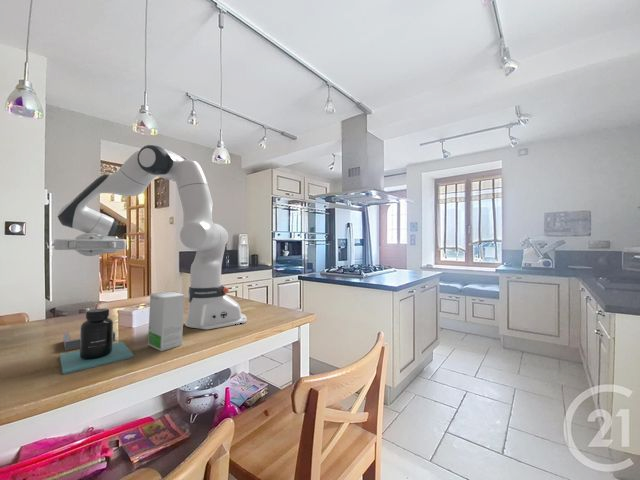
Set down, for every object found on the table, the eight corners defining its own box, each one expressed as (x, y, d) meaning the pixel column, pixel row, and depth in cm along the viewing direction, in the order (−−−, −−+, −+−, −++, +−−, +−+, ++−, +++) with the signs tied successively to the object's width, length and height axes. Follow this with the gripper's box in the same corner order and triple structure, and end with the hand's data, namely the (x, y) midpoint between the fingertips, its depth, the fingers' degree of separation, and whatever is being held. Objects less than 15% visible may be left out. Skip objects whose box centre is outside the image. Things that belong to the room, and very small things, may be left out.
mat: (59, 356, 74) (59, 354, 74) (122, 343, 84) (122, 341, 84) (62, 374, 64) (62, 371, 64) (133, 357, 74) (133, 354, 74)
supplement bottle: (94, 361, 70) (95, 314, 70) (72, 359, 71) (73, 312, 71) (118, 350, 76) (119, 307, 77) (98, 349, 78) (99, 306, 78)
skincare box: (147, 345, 82) (148, 293, 82) (169, 339, 88) (170, 290, 88) (161, 352, 78) (162, 296, 78) (184, 344, 83) (185, 293, 83)
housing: (63, 341, 85) (63, 333, 85) (109, 333, 93) (109, 325, 93) (65, 350, 78) (65, 342, 78) (114, 340, 86) (115, 332, 86)
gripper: (52, 235, 98) (53, 234, 88) (121, 236, 112) (129, 236, 103) (51, 253, 98) (53, 254, 88) (121, 252, 112) (129, 253, 103)
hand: (94, 244), depth 95 cm, fingers open, 8 cm apart
